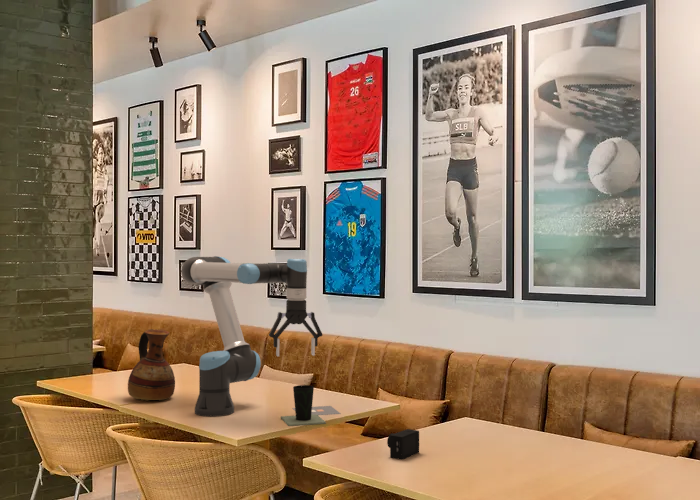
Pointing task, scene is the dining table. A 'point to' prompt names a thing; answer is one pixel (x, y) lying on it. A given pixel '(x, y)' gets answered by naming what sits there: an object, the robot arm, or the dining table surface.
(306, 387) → the cup
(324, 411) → the tile
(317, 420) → the mat
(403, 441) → the digital camera
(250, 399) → the dining table surface
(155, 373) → the ceramic pitcher
